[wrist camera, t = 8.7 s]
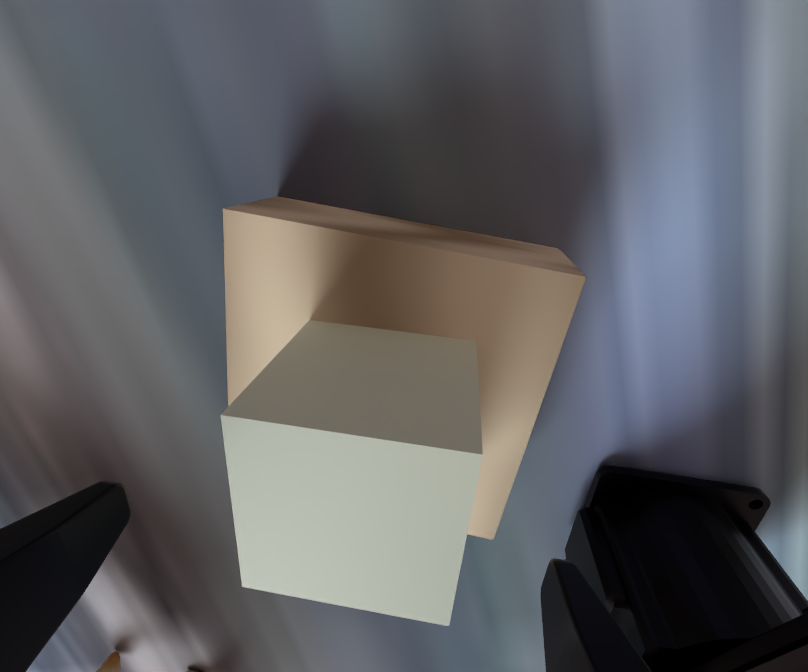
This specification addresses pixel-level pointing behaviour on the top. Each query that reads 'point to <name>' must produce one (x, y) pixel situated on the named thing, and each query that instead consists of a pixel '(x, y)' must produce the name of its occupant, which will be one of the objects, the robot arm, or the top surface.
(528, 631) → the top surface
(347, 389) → the sage cube
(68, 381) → the top surface
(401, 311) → the maple block
